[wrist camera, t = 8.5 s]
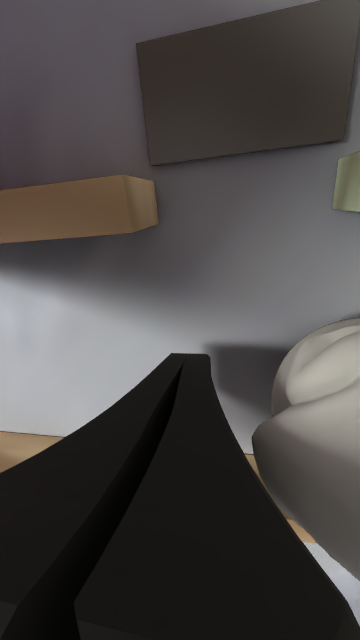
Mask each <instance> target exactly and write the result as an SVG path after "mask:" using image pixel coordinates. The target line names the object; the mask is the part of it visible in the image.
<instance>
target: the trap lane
mask: <svg viewBox="0 0 360 640" xmlns="http://www.w3.org/2000/svg"><path fill="white" fill-rule="evenodd" d="M359 23H360V0H320V1H316V2H312V3H307V4H303V5H299V6H295V7H290V8H286V9H282V10H277V11H273V12H269V13H265V14H260V15H256V16H252V17H248V18H243V19H239V20H235V21H231V22H226V23H222V24H218V25H214V26H209V27H205V28H201V29H196V30H192V31H188V32H184V33H179V34H175V35H171V36H167V37H162V38H158V39H154V40H150V41H145V42H141V43H137V44H136V49H137V57H138V65H139V74H140V82H141V90H142V99H143V107H144V116H145V124H146V132H147V141H148V149H149V158H150V165H151V166H155V165H163V164H170V163H178V162H185V161H193V160H200V159H208V158H215V157H223V156H230V155H238V154H245V153H253V152H260V151H268V150H275V149H283V148H290V147H298V146H305V145H313V144H320V143H328V142H335V141H341V140H343V139H344V134H345V127H346V119H347V112H348V104H349V97H350V90H351V82H352V75H353V67H354V60H355V52H356V45H357V38H358V30H359ZM332 209H338V210H347V211H357V212H360V151H358V152H356V153H353V154H350V155H348V156H345V157H342V158H340V159H338V167H337V174H336V182H335V190H334V197H333V205H332ZM157 224H159V219H158V210H157V202H156V193H155V185H154V181H151V180H146V179H142V178H137V177H132V176H128V175H123V174H122V175H114V176H106V177H99V178H91V179H83V180H75V181H68V182H60V183H52V184H44V185H37V186H29V187H21V188H13V189H6V190H0V244H1V243H14V242H26V241H38V240H51V239H63V238H76V237H88V236H101V235H113V234H126V233H133V232H136V231H139V230H142V229H145V228H148V227H151V226H154V225H157ZM61 439H63V437H52V436H42V435H31V434H20V433H9V432H0V473H1V472H3V471H5V470H7V469H9V468H11V467H13V466H15V465H17V464H19V463H21V462H23V461H24V460H26V459H28V458H30V457H32V456H34V455H36V454H38V453H39V452H41V451H43V450H44V449H46V448H48V447H50V446H51V445H53V444H55V443H56V442H58V441H60V440H61ZM245 456H246V458H247V460H248V461H249V463H250V465H251V466H252V468H253V470H254V471H255V473H256V474H257V476H258V477H259V479H260V481H261V482H262V484H263V485H264V483H263V481H262V479H261V477H260V475H259V471H258V468H257V465H256V461H255V458H254V455H247V454H245ZM264 487H265V485H264ZM265 488H266V487H265ZM266 490H267V488H266ZM267 492H268V490H267ZM268 493H269V492H268ZM269 495H270V494H269ZM271 498H272V497H271ZM273 501H274V500H273ZM274 503H275V502H274ZM275 504H276V503H275ZM277 507H278V506H277ZM278 508H279V507H278ZM279 510H280V511H281V513H282V514H283V515H284V517H285V518H286V520H287V521H288V523H289V524H290V525H291V527H292V528H293V530H294V531H295V533H296V534H297V535H298V537H299V538H300V539H301V541H302V542H309V543H316V541H315V540H314V539H313V538H312V536H311V535H310V534H308V533H307V532H306V531H305V529H304V528H301V527H300V526H299V525H298V524H297V523H295V522H294V521H293V520H292V519H291V518H290V517H289V516H288V515H287V514H286V513H285V512H283V511H282V510H281V509H280V508H279ZM316 544H317V543H316Z"/></svg>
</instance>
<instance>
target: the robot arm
mask: <svg viewBox="0 0 360 640" xmlns="http://www.w3.org/2000/svg"><path fill="white" fill-rule="evenodd" d="M0 640H360V626H359V624H358V622H357V620H356V618H355V616H354V614H353V612H352V610H351V608H350V606H349V604H348V602H347V600H346V599H345V598H344V596H343V595H342V594H341V592H340V591H339V590H338V588H337V587H336V586H335V584H334V583H333V582H332V580H331V579H330V578H329V577H328V575H327V574H326V573H325V571H324V570H323V569H322V568H321V566H320V565H319V564H318V562H317V561H316V560H315V558H314V557H313V556H312V554H311V553H310V552H309V550H308V549H307V547H306V546H305V545H304V543H303V542H302V541H301V539H300V538H299V537H298V535H297V534H296V533H295V531H294V530H293V528H292V527H291V525H290V524H289V523H288V521H287V520H286V518H285V517H284V515H283V514H282V513H281V511H280V510H279V508H278V507H277V505H276V504H275V503H274V501H273V499H272V498H271V496H270V495H269V493H268V492H267V490H266V488H265V487H264V485H263V484H262V482H261V481H260V479H259V477H258V476H257V474H256V473H255V471H254V470H253V468H252V466H251V465H250V463H249V461H248V460H247V458H246V456H245V454H244V453H243V451H242V449H241V447H240V445H239V444H238V442H237V440H236V438H235V436H234V434H233V432H232V430H231V428H230V426H229V424H228V421H227V419H226V417H225V415H224V412H223V410H222V407H221V405H220V402H219V400H218V397H217V394H216V391H215V388H214V385H213V381H212V377H211V362H210V357H209V356H208V355H207V354H182V353H171V354H170V355H169V356H168V357H167V358H166V359H165V360H164V361H163V362H162V363H160V364H159V365H158V366H157V367H156V368H155V369H154V370H153V371H152V372H151V373H150V374H149V375H148V376H147V377H146V378H144V379H143V380H142V381H141V382H140V383H139V384H138V385H137V386H136V387H134V388H133V389H132V390H131V391H130V392H128V393H127V394H126V395H125V396H123V397H122V398H121V399H120V400H119V401H117V402H116V403H115V404H114V405H112V406H111V407H110V408H108V409H107V410H106V411H104V412H103V413H102V414H100V415H99V416H97V417H96V418H94V419H93V420H91V421H90V422H89V423H87V424H86V425H84V426H83V427H81V428H80V429H78V430H76V431H75V432H73V433H71V434H70V435H68V436H66V437H65V438H63V439H61V440H60V441H58V442H56V443H55V444H53V445H51V446H50V447H48V448H46V449H44V450H43V451H41V452H39V453H38V454H36V455H34V456H32V457H30V458H28V459H26V460H24V461H23V462H21V463H19V464H17V465H15V466H13V467H11V468H9V469H7V470H5V471H3V472H1V473H0Z"/></svg>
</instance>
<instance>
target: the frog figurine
mask: <svg viewBox="0 0 360 640" xmlns="http://www.w3.org/2000/svg"><path fill="white" fill-rule="evenodd" d="M271 410H272V416H273V417H272V418H270V419H268V420H267V421H265V422H263V423H262V424H260V425H259V426H258V427H257V429H256V431H255V432H254V434H253V436H252V445H253V452H254V458H255V461H256V465H257V468H258V471H259V475H260V477H261V479H262V481H263V483H264V485H265V487H266V488H267V490H268V492H269V494H270V496H271V497H272V499H273V500H274V502H275V503H276V505H277V506H278V507H279V508H280V509H281V510H282V511H283V512H285V513H286V514H287V515H288V516H289V517H290V518H291V519H292V520H293V521H294V522H295V523H297V524H298V525H299V526H300V527H301V528H304V529H305V531H306V532H307V533H308V534H310V535H311V536H312V538H313V539H314V540H315V541H316V543H317V544H318V545H320V546H321V547H322V548H323V549H324V550H325V551H326V552H327V553H328V554H329V555H330V557H332V558H333V559H334V560H336V561H337V562H338V563H340V565H341V566H342V567H344V568H345V569H346V570H347V571H348V572H350V573H351V574H352V575H353V576H354V577H355V578H356V579H358V580H359V581H360V318H356V319H349V320H344V321H339V322H336V323H332V324H329V325H327V326H324V327H322V328H320V329H318V330H316V331H314V332H312V333H310V334H309V335H307V336H306V337H305V338H303V339H302V340H301V341H299V342H298V343H297V344H296V345H295V346H294V347H293V348H292V349H291V350H290V351H289V353H288V354H287V355H286V357H285V358H284V360H283V361H282V363H281V365H280V366H279V369H278V371H277V374H276V376H275V380H274V384H273V389H272V398H271Z"/></svg>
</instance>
